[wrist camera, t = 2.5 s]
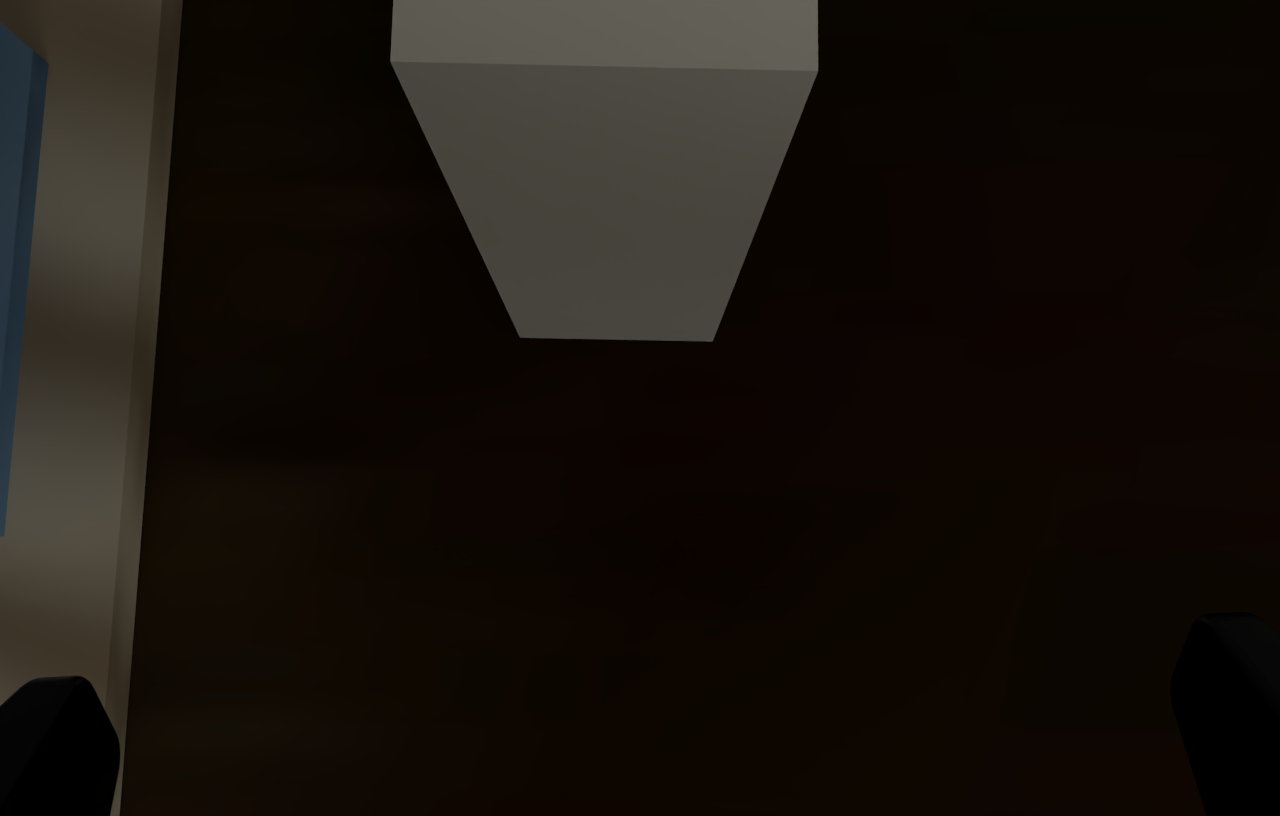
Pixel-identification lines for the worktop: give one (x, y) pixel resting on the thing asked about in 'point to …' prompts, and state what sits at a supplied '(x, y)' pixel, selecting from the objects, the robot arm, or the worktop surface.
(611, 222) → the connector column
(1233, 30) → the worktop surface
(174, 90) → the board
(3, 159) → the box
